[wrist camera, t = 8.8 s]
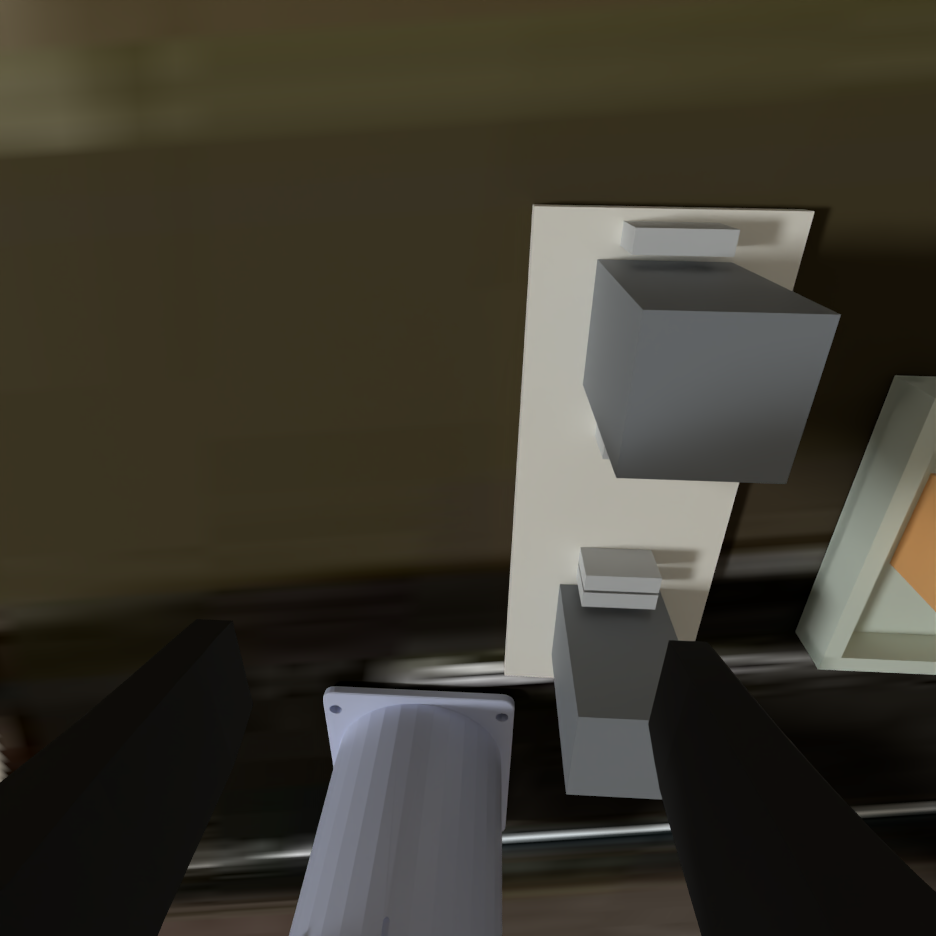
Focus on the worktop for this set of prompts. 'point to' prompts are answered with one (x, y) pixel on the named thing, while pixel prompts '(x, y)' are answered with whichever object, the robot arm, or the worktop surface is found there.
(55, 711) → the worktop surface
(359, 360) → the worktop surface
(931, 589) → the block
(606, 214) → the panel
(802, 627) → the tray
